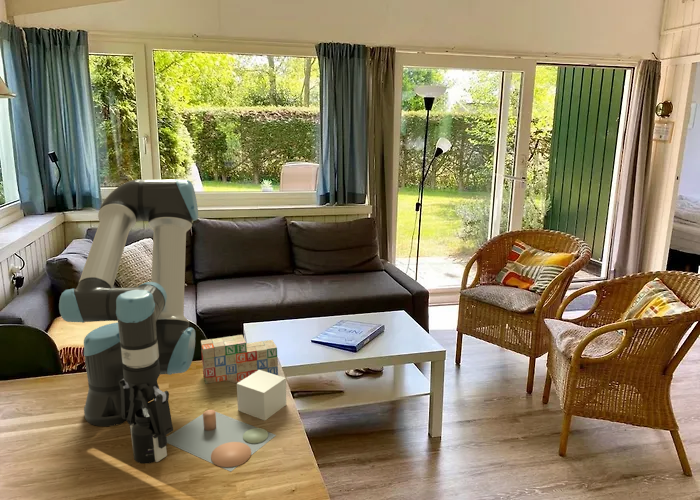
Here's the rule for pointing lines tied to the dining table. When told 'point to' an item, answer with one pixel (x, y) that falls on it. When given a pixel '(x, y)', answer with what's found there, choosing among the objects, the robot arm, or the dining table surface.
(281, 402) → the plain off-white box
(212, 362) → the stack of blocks
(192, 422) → the board
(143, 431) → the supplement bottle
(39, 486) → the dining table surface
